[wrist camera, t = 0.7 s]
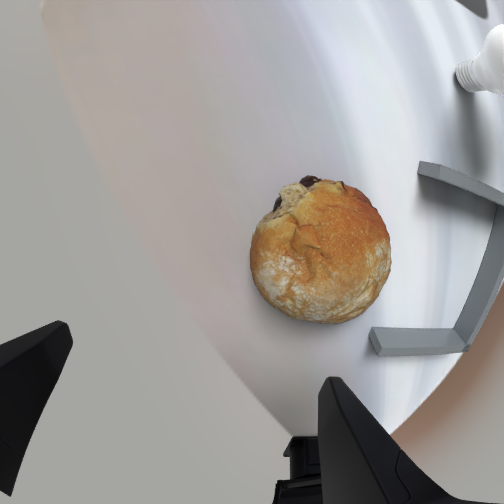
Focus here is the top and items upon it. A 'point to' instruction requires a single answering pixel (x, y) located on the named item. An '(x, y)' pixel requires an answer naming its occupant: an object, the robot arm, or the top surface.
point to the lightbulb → (485, 65)
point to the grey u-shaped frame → (482, 293)
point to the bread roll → (321, 252)
